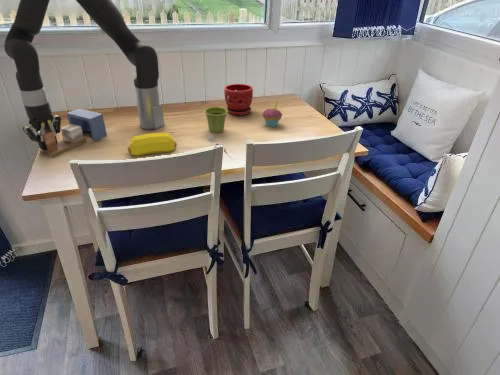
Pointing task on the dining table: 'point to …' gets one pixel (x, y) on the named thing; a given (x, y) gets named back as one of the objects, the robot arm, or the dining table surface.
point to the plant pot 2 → (238, 98)
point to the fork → (214, 140)
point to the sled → (70, 140)
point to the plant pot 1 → (216, 118)
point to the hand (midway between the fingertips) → (49, 147)
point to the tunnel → (88, 122)
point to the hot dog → (151, 144)
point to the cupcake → (272, 116)
